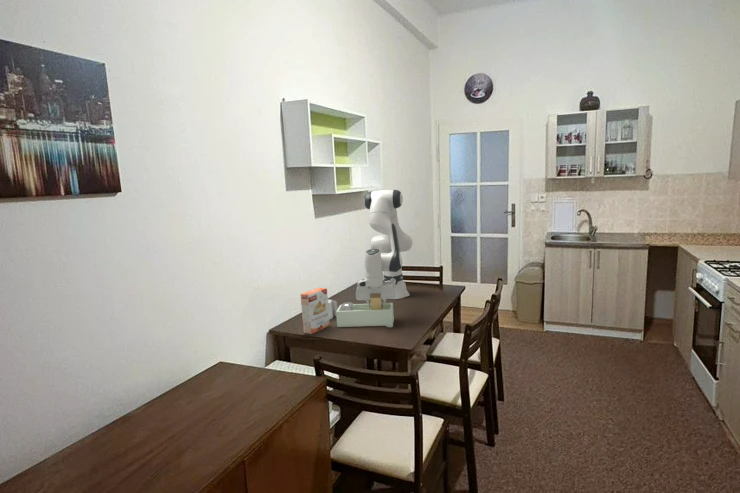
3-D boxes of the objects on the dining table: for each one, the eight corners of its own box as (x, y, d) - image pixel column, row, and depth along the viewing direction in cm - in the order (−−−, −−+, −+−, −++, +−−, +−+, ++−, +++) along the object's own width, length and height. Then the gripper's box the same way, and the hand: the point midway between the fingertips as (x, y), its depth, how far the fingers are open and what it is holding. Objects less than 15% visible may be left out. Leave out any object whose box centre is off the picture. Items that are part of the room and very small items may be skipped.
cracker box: (312, 336, 216) (308, 294, 212) (303, 334, 219) (299, 293, 216) (330, 327, 227) (327, 287, 224) (321, 325, 230) (318, 286, 227)
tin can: (344, 320, 232) (342, 302, 231) (355, 320, 231) (353, 302, 230) (342, 324, 226) (340, 306, 225) (353, 324, 226) (352, 305, 224)
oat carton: (372, 315, 229) (371, 291, 227) (382, 315, 229) (381, 291, 227) (371, 319, 224) (370, 294, 222) (381, 318, 224) (380, 293, 222)
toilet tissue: (311, 319, 243) (309, 301, 241) (331, 314, 248) (329, 297, 246) (317, 324, 233) (316, 305, 232) (338, 319, 239) (337, 301, 237)
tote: (341, 321, 236) (340, 304, 234) (393, 319, 232) (392, 302, 231) (337, 328, 224) (336, 311, 222) (392, 327, 220) (391, 309, 219)
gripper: (395, 279, 226) (397, 305, 228) (356, 280, 228) (358, 306, 230) (394, 281, 219) (396, 308, 222) (354, 283, 222) (356, 310, 224)
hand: (376, 307), depth 226 cm, fingers closed on oat carton, 5 cm apart
